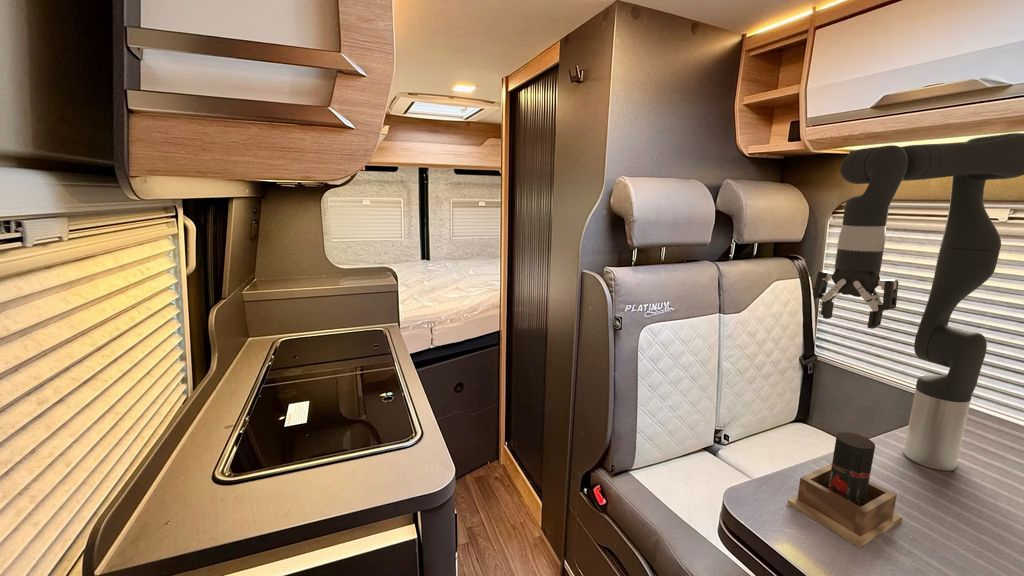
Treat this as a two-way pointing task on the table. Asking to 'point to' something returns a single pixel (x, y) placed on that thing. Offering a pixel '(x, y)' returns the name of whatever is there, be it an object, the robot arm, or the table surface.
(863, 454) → the deodorant
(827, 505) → the holder
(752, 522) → the table surface
